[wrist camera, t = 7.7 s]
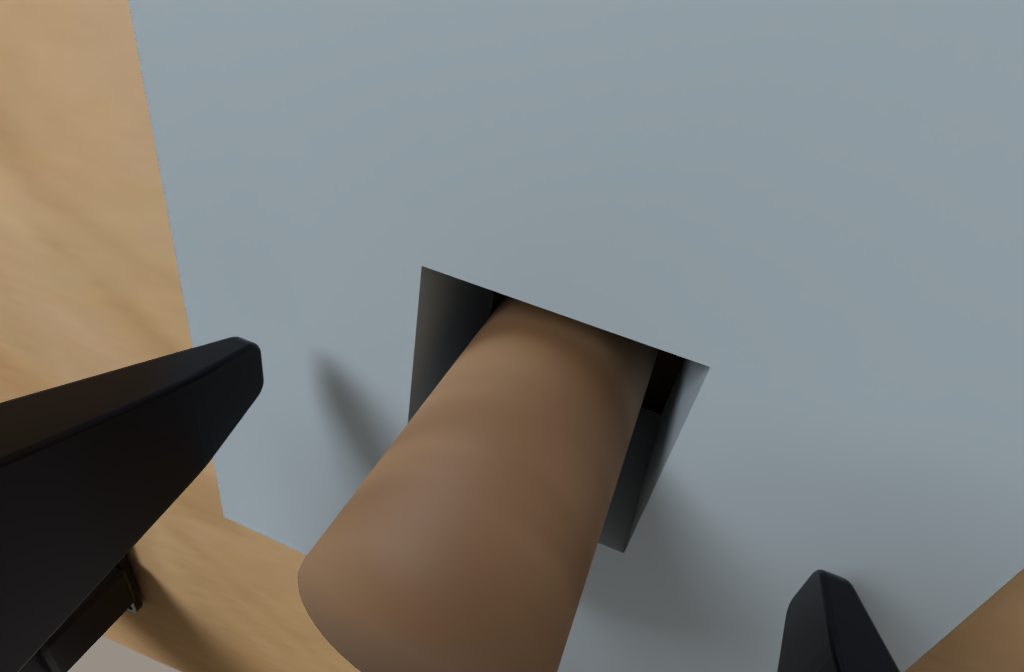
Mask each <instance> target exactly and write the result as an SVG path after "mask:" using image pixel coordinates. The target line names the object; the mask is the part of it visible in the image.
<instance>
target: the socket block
mask: <svg viewBox="0 0 1024 672" xmlns="http://www.w3.org/2000/svg"><path fill="white" fill-rule="evenodd" d="M128 2H129V7H130V13H131V18H132V24H133V29H134V34H135V40H136V45H137V51H138V56H139V61H140V67H141V72H142V78H143V83H144V88H145V94H146V99H147V105H148V110H149V115H150V121H151V126H152V132H153V137H154V142H155V148H156V153H157V158H158V164H159V169H160V175H161V180H162V185H163V191H164V196H165V202H166V207H167V212H168V218H169V223H170V229H171V234H172V239H173V245H174V250H175V256H176V261H177V266H178V272H179V277H180V283H181V288H182V293H183V299H184V304H185V310H186V315H187V320H188V326H189V331H190V337H191V342H192V347H193V348H194V347H198V346H201V345H205V344H208V343H212V342H215V341H219V340H222V339H226V338H229V337H235V336H236V337H241V338H244V339H246V340H249V341H251V342H254V343H256V344H257V345H258V346H259V347H260V349H261V356H262V366H263V376H264V384H263V388H262V391H261V393H260V394H259V396H258V397H257V399H256V400H255V401H254V403H253V404H252V406H251V407H250V408H249V410H248V411H247V412H246V414H245V415H244V416H243V418H242V419H241V420H240V422H239V423H238V424H237V426H236V427H235V428H234V430H233V431H232V433H231V434H230V435H229V437H228V438H227V439H226V441H225V442H224V443H223V445H222V446H221V447H220V449H219V450H218V451H217V453H216V454H215V455H214V457H213V461H214V466H215V472H216V477H217V482H218V488H219V493H220V499H221V504H222V509H223V515H224V517H225V518H227V519H230V520H232V521H234V522H236V523H238V524H240V525H242V526H245V527H247V528H249V529H251V530H253V531H255V532H257V533H259V534H262V535H264V536H266V537H268V538H270V539H272V540H274V541H277V542H279V543H281V544H283V545H285V546H287V547H289V548H291V549H294V550H296V551H298V552H300V553H302V554H304V555H306V556H307V555H308V553H309V552H310V551H311V549H312V548H313V547H314V545H315V544H316V543H317V541H318V540H319V539H320V538H321V536H322V535H323V534H324V532H325V531H326V530H327V528H328V527H329V526H330V524H331V523H332V522H333V521H334V519H335V518H336V517H337V515H338V514H339V513H340V511H341V510H342V509H343V508H344V506H345V505H346V504H347V502H348V501H349V500H350V498H351V497H352V496H353V494H354V493H355V492H356V491H357V489H358V488H359V487H360V485H361V484H362V483H363V481H364V480H365V479H366V477H367V476H368V475H369V474H370V472H371V471H372V470H373V468H374V467H375V466H376V464H377V463H378V462H379V461H380V459H381V458H382V457H383V455H384V454H385V453H386V451H387V450H388V449H389V447H390V446H391V445H392V444H393V442H394V441H395V440H396V438H397V437H398V436H399V434H400V433H401V432H402V431H403V429H404V428H405V427H406V425H407V424H408V423H409V421H410V420H411V419H412V417H413V416H414V415H415V414H416V412H417V411H418V410H419V408H420V407H421V406H422V404H423V403H424V402H425V400H426V399H427V398H428V397H429V395H430V394H431V393H432V391H433V390H434V389H435V387H436V386H437V385H438V384H439V382H440V381H441V380H442V378H443V377H444V376H445V374H446V373H447V372H448V370H449V369H450V368H451V367H452V365H453V364H454V363H455V361H456V360H457V359H458V357H459V356H460V355H461V353H462V352H463V351H464V350H465V348H466V347H467V346H468V344H469V343H470V342H471V340H472V339H473V338H474V337H475V335H476V334H477V333H478V331H479V330H480V329H481V327H482V326H483V325H484V323H485V322H486V321H487V320H488V318H489V317H490V316H491V310H492V305H493V299H494V293H495V292H498V293H501V294H503V295H506V296H509V297H512V298H515V299H518V300H521V301H523V302H526V303H529V304H532V305H535V306H538V307H540V308H543V309H546V310H549V311H552V312H555V313H558V314H560V315H563V316H566V317H569V318H572V319H575V320H578V321H580V322H583V323H586V324H589V325H592V326H595V327H597V328H600V329H603V330H606V331H609V332H612V333H615V334H617V335H620V336H623V337H626V338H629V339H632V340H634V341H637V342H640V343H643V344H646V345H649V346H652V347H654V348H657V349H660V350H663V351H666V352H669V353H672V354H674V355H677V356H680V357H683V358H685V360H684V363H683V365H682V367H681V370H680V372H679V374H678V377H677V379H676V381H675V384H674V386H673V388H672V391H671V393H670V395H669V398H668V400H667V402H666V405H665V407H664V409H663V412H662V414H661V415H660V414H658V413H655V412H652V411H650V410H647V409H644V408H640V411H639V415H638V418H637V421H636V424H635V427H634V430H633V434H632V437H631V440H630V443H629V446H628V449H627V453H626V456H625V459H624V462H623V465H622V468H621V472H620V475H619V478H618V481H617V484H616V487H615V491H614V494H613V497H612V500H611V503H610V506H609V510H608V513H607V516H606V519H605V522H604V525H603V529H602V532H601V535H600V538H599V541H598V544H597V548H596V551H595V554H594V557H593V560H592V563H591V567H590V570H589V573H588V576H587V579H586V582H585V586H584V589H583V592H582V595H581V598H580V601H579V605H578V608H577V611H576V614H575V617H574V620H573V624H572V627H571V630H570V633H569V636H568V639H567V643H566V646H565V649H564V652H563V655H562V658H561V662H560V665H559V668H558V671H557V672H777V670H778V663H779V657H780V650H781V644H782V637H783V631H784V624H785V618H786V612H787V609H788V606H789V604H790V602H791V600H792V598H793V597H794V596H795V594H796V593H797V592H798V591H799V589H800V588H801V587H802V586H803V584H804V583H805V582H806V581H807V579H808V578H809V577H810V576H811V574H812V573H813V572H814V571H816V570H819V569H821V570H825V571H828V572H830V573H833V574H835V575H838V576H840V577H843V578H845V579H847V580H848V581H849V582H850V583H851V584H852V585H853V587H854V588H855V590H856V592H857V594H858V596H859V598H860V599H861V601H862V603H863V605H864V607H865V608H866V610H867V612H868V614H869V616H870V618H871V619H872V621H873V623H874V625H875V627H876V628H877V630H878V632H879V634H880V636H881V638H882V639H883V641H884V643H885V645H886V647H887V648H888V650H889V652H890V654H891V656H892V658H893V659H894V661H895V663H896V665H897V667H898V668H899V670H900V672H905V671H906V670H907V669H908V668H909V667H910V666H912V665H913V664H914V663H915V662H916V661H917V660H918V659H920V658H921V657H922V656H923V655H924V654H925V653H927V652H928V651H929V650H930V649H931V648H932V647H933V646H935V645H936V644H937V643H938V642H939V641H940V640H942V639H943V638H944V637H945V636H946V635H947V634H948V633H950V632H951V631H952V630H953V629H954V628H955V627H957V626H958V625H959V624H960V623H961V622H962V621H963V620H965V619H966V618H967V617H968V616H969V615H970V614H972V613H973V612H974V611H975V610H976V609H977V608H978V607H980V606H981V605H982V604H983V603H984V602H985V601H987V600H988V599H989V598H990V597H991V596H992V595H993V594H995V593H996V592H997V591H998V590H999V589H1000V588H1001V587H1003V586H1004V585H1005V584H1006V583H1007V582H1008V581H1010V580H1011V579H1012V578H1013V577H1014V576H1015V575H1016V574H1018V573H1019V572H1020V571H1021V570H1022V569H1023V568H1024V0H128Z"/></svg>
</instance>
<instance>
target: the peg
mask: <svg viewBox="0 0 1024 672" xmlns="http://www.w3.org/2000/svg"><path fill="white" fill-rule="evenodd" d="M658 351H659V349H657V348H654V347H652V346H649V345H646V344H643V343H640V342H637V341H634V340H632V339H629V338H626V337H623V336H620V335H617V334H615V333H612V332H609V331H606V330H603V329H600V328H597V327H595V326H592V325H589V324H586V323H583V322H580V321H578V320H575V319H572V318H569V317H566V316H563V315H560V314H558V313H555V312H552V311H549V310H546V309H543V308H540V307H538V306H535V305H532V304H529V303H526V302H523V301H521V300H518V299H515V298H512V297H509V296H505V297H504V299H503V300H502V301H501V303H500V304H499V305H498V307H497V308H496V309H495V310H494V312H493V313H492V314H491V316H490V317H489V318H488V320H487V321H486V322H485V323H484V325H483V326H482V327H481V329H480V330H479V331H478V333H477V334H476V335H475V337H474V338H473V339H472V340H471V342H470V343H469V344H468V346H467V347H466V348H465V350H464V351H463V352H462V353H461V355H460V356H459V357H458V359H457V360H456V361H455V363H454V364H453V365H452V367H451V368H450V369H449V370H448V372H447V373H446V374H445V376H444V377H443V378H442V380H441V381H440V382H439V384H438V385H437V386H436V387H435V389H434V390H433V391H432V393H431V394H430V395H429V397H428V398H427V399H426V400H425V402H424V403H423V404H422V406H421V407H420V408H419V410H418V411H417V412H416V414H415V415H414V416H413V417H412V419H411V420H410V421H409V423H408V424H407V425H406V427H405V428H404V429H403V431H402V432H401V433H400V434H399V436H398V437H397V438H396V440H395V441H394V442H393V444H392V445H391V446H390V447H389V449H388V450H387V451H386V453H385V454H384V455H383V457H382V458H381V459H380V461H379V462H378V463H377V464H376V466H375V467H374V468H373V470H372V471H371V472H370V474H369V475H368V476H367V477H366V479H365V480H364V481H363V483H362V484H361V485H360V487H359V488H358V489H357V491H356V492H355V493H354V494H353V496H352V497H351V498H350V500H349V501H348V502H347V504H346V505H345V506H344V508H343V509H342V510H341V511H340V513H339V514H338V515H337V517H336V518H335V519H334V521H333V522H332V523H331V524H330V526H329V527H328V528H327V530H326V531H325V532H324V534H323V535H322V536H321V538H320V539H319V540H318V541H317V543H316V544H315V545H314V547H313V548H312V549H311V551H310V552H309V553H308V555H307V556H306V557H305V559H304V560H303V562H302V564H301V565H300V569H299V573H298V587H299V592H300V596H301V599H302V602H303V604H304V606H305V608H306V610H307V612H308V614H309V616H310V618H311V619H312V621H313V622H314V624H315V625H316V627H317V628H318V629H319V631H320V632H321V633H322V635H323V636H324V637H325V638H326V639H327V641H328V642H329V643H330V644H331V645H332V646H333V647H334V648H335V649H336V650H337V651H338V652H339V653H340V654H341V655H342V656H343V657H344V658H345V659H346V660H348V661H349V662H350V663H351V664H352V665H353V666H354V667H356V668H357V669H358V670H360V671H361V672H557V671H558V668H559V665H560V662H561V658H562V655H563V652H564V649H565V646H566V643H567V639H568V636H569V633H570V630H571V627H572V624H573V620H574V617H575V614H576V611H577V608H578V605H579V601H580V598H581V595H582V592H583V589H584V586H585V582H586V579H587V576H588V573H589V570H590V567H591V563H592V560H593V557H594V554H595V551H596V548H597V544H598V541H599V538H600V535H601V532H602V529H603V525H604V522H605V519H606V516H607V513H608V510H609V506H610V503H611V500H612V497H613V494H614V491H615V487H616V484H617V481H618V478H619V475H620V472H621V468H622V465H623V462H624V459H625V456H626V453H627V449H628V446H629V443H630V440H631V437H632V434H633V430H634V427H635V424H636V421H637V418H638V415H639V411H640V408H641V405H642V402H643V399H644V396H645V392H646V389H647V386H648V383H649V380H650V377H651V373H652V370H653V367H654V364H655V361H656V358H657V354H658Z"/></svg>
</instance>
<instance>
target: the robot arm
mask: <svg viewBox="0 0 1024 672" xmlns="http://www.w3.org/2000/svg"><path fill="white" fill-rule="evenodd" d="M263 384H264V376H263V366H262V356H261V349H260V347H259V346H258V345H257V344H256V343H254V342H251V341H249V340H246V339H244V338H241V337H236V336H235V337H229V338H226V339H222V340H219V341H215V342H212V343H208V344H205V345H201V346H198V347H194V348H191V349H187V350H184V351H180V352H177V353H173V354H170V355H166V356H163V357H159V358H156V359H152V360H149V361H145V362H142V363H138V364H135V365H131V366H128V367H124V368H121V369H117V370H114V371H110V372H107V373H103V374H100V375H96V376H93V377H89V378H86V379H82V380H79V381H75V382H72V383H68V384H65V385H61V386H58V387H54V388H51V389H47V390H44V391H40V392H37V393H33V394H29V395H26V396H22V397H19V398H15V399H12V400H8V401H5V402H1V403H0V672H67V671H68V670H69V669H70V668H71V667H72V666H73V665H74V664H75V663H76V662H77V661H78V660H79V659H80V658H81V657H82V656H83V655H84V653H86V651H87V650H88V649H89V648H90V647H91V646H92V645H93V644H94V643H95V642H96V641H97V640H98V639H99V638H100V637H101V636H102V635H103V634H104V633H105V632H106V631H107V630H108V629H109V628H110V627H111V626H112V625H113V623H114V622H115V621H116V620H117V619H118V618H119V617H120V616H121V615H122V614H123V613H124V612H125V611H126V610H128V611H130V612H132V613H136V612H137V611H138V610H139V609H140V608H141V607H142V606H143V603H142V601H141V598H140V595H139V592H138V589H137V587H136V584H135V581H134V578H133V576H132V573H131V570H130V567H129V564H128V562H127V559H126V556H125V555H126V554H127V552H128V551H129V550H130V549H131V548H132V547H133V546H134V545H135V544H136V543H137V542H138V540H139V539H140V538H141V537H142V536H143V535H144V534H145V533H146V532H147V531H148V530H149V528H150V527H151V526H152V525H153V524H154V523H155V522H156V521H157V520H158V519H159V518H160V516H161V515H162V514H163V513H164V512H165V511H166V510H167V509H168V508H169V507H170V505H171V504H172V503H173V502H174V501H175V500H176V499H177V498H178V497H179V496H180V495H181V493H182V492H183V491H184V490H185V489H186V488H187V487H188V486H189V485H190V484H191V483H192V481H193V480H194V479H195V478H196V477H197V476H198V475H199V474H200V472H201V471H202V470H203V469H204V468H205V467H206V465H207V464H208V463H209V462H210V460H211V459H212V458H213V457H214V455H215V454H216V453H217V451H218V450H219V449H220V447H221V446H222V445H223V443H224V442H225V441H226V439H227V438H228V437H229V435H230V434H231V433H232V431H233V430H234V428H235V427H236V426H237V424H238V423H239V422H240V420H241V419H242V418H243V416H244V415H245V414H246V412H247V411H248V410H249V408H250V407H251V406H252V404H253V403H254V401H255V400H256V399H257V397H258V396H259V394H260V393H261V391H262V388H263ZM777 672H900V670H899V668H898V667H897V665H896V663H895V661H894V659H893V658H892V656H891V654H890V652H889V650H888V648H887V647H886V645H885V643H884V641H883V639H882V638H881V636H880V634H879V632H878V630H877V628H876V627H875V625H874V623H873V621H872V619H871V618H870V616H869V614H868V612H867V610H866V608H865V607H864V605H863V603H862V601H861V599H860V598H859V596H858V594H857V592H856V590H855V588H854V587H853V585H852V584H851V583H850V582H849V581H848V580H847V579H845V578H843V577H840V576H838V575H835V574H833V573H830V572H828V571H825V570H821V569H819V570H816V571H814V572H813V573H812V574H811V576H810V577H809V578H808V579H807V581H806V582H805V583H804V584H803V586H802V587H801V588H800V589H799V591H798V592H797V593H796V594H795V596H794V597H793V598H792V600H791V602H790V604H789V606H788V609H787V612H786V618H785V624H784V631H783V637H782V644H781V650H780V657H779V663H778V670H777Z"/></svg>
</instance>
